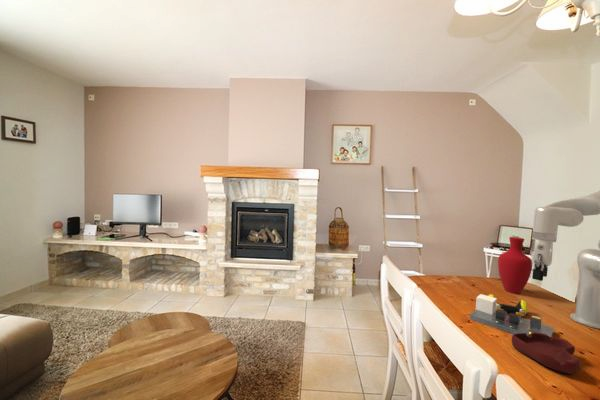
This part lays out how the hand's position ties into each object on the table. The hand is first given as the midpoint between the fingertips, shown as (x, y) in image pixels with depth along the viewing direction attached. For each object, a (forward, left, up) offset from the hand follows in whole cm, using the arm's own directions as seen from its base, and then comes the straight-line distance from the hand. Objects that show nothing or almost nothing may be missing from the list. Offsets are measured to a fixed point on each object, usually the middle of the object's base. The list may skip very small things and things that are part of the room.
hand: (539, 277), depth 114 cm
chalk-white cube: (+16, +8, -18) cm, 25 cm away
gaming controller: (+10, -5, -20) cm, 23 cm away
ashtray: (-5, +29, -20) cm, 36 cm away
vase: (+15, -38, -20) cm, 45 cm away
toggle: (-1, +9, -17) cm, 20 cm away
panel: (+7, +11, -20) cm, 24 cm away
